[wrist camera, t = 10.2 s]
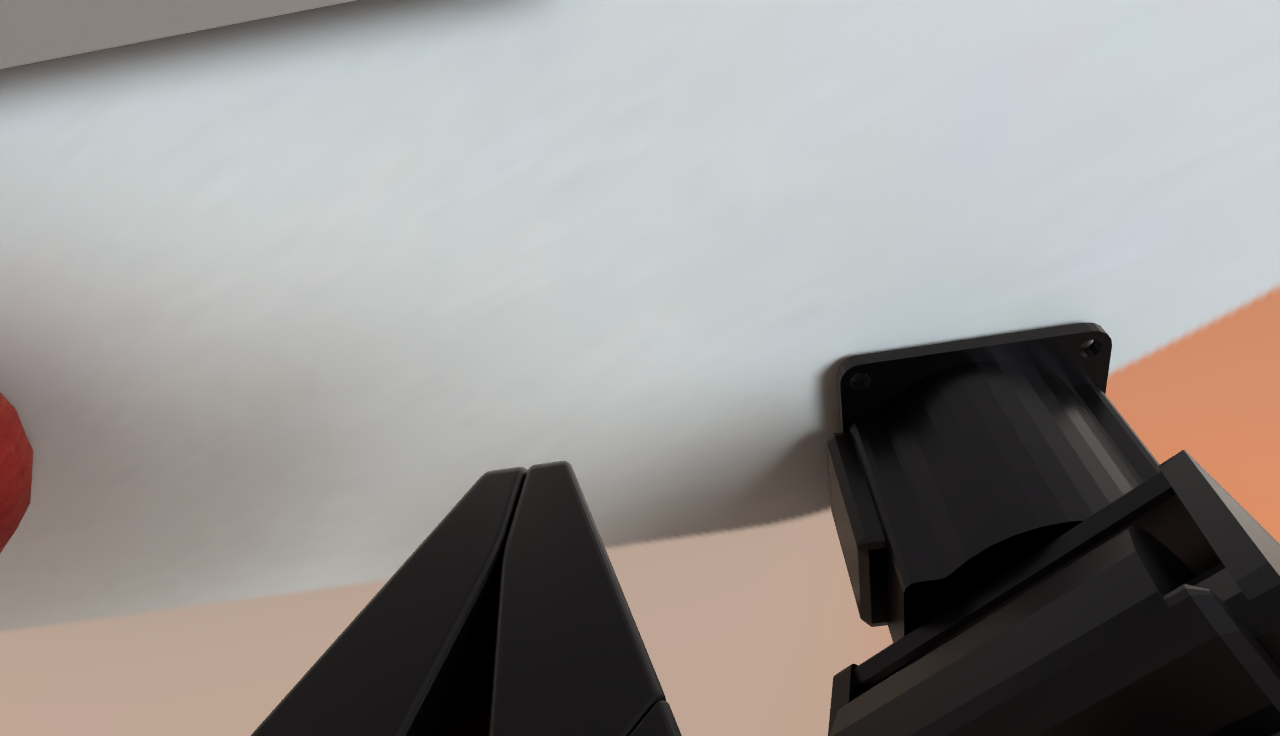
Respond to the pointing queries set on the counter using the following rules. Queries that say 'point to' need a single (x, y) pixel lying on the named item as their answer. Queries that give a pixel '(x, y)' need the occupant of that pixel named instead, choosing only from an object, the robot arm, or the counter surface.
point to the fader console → (119, 23)
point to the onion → (13, 471)
